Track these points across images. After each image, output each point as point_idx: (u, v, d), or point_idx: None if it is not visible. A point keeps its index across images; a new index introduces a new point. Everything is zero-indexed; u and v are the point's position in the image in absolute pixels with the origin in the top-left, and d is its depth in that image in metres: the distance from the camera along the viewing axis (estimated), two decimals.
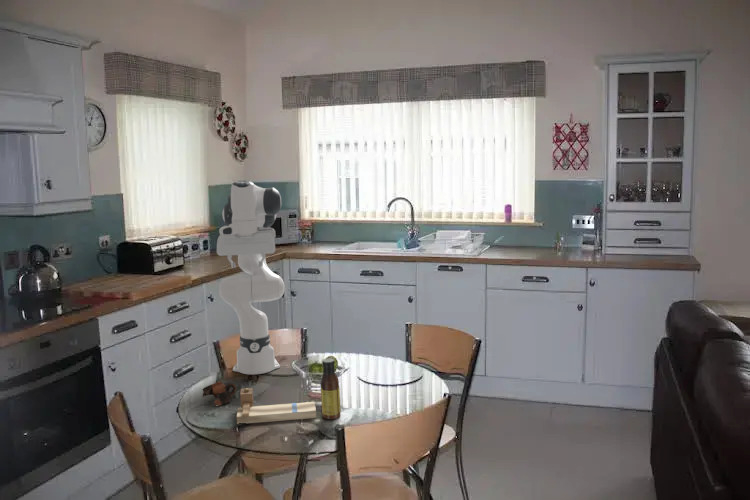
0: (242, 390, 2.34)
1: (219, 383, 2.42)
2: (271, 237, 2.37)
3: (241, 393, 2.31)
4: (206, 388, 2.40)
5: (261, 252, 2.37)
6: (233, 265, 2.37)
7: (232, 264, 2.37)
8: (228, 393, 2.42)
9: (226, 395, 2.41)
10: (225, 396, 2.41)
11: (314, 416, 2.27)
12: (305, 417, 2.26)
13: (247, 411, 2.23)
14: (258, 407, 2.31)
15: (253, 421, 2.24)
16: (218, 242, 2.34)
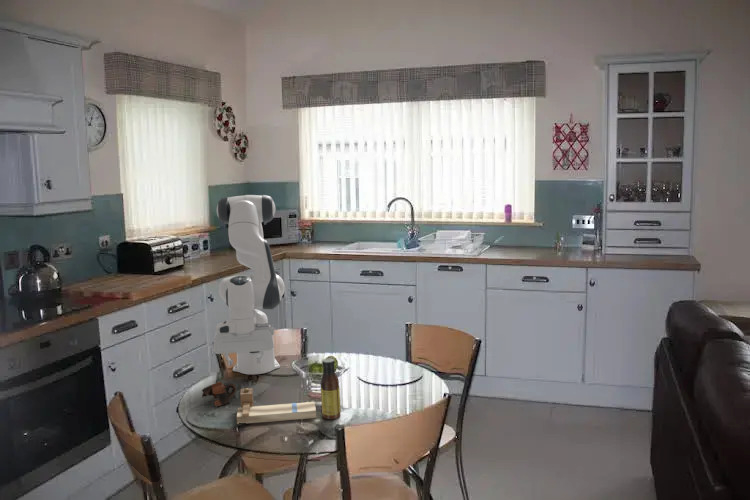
0: (242, 390, 2.34)
1: (219, 384, 2.42)
2: (269, 334, 2.30)
3: (241, 393, 2.31)
4: (205, 388, 2.40)
5: (259, 349, 2.30)
6: (230, 363, 2.30)
7: (229, 362, 2.30)
8: (228, 394, 2.42)
9: (226, 396, 2.41)
10: (224, 397, 2.40)
11: (314, 416, 2.27)
12: (305, 417, 2.26)
13: (247, 411, 2.23)
14: (258, 407, 2.31)
15: (253, 421, 2.24)
16: (215, 341, 2.27)
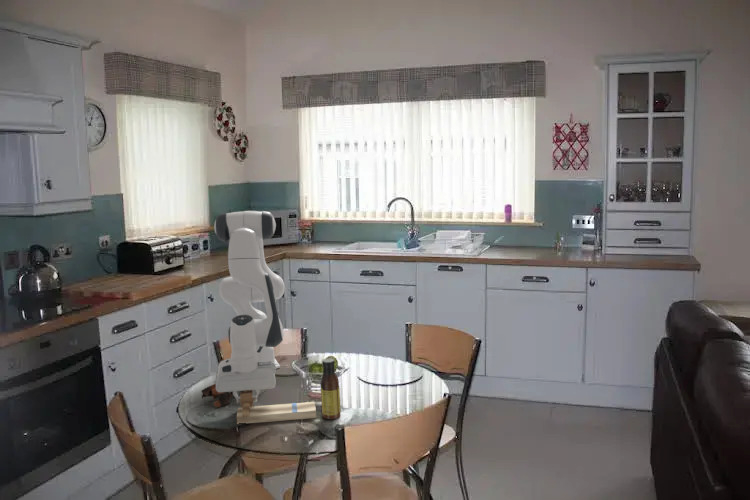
0: None
1: None
2: (271, 373, 2.32)
3: (241, 393, 2.31)
4: (205, 389, 2.39)
5: (261, 388, 2.32)
6: (238, 400, 2.33)
7: (237, 399, 2.32)
8: (227, 394, 2.41)
9: (225, 396, 2.40)
10: (224, 398, 2.39)
11: (314, 416, 2.27)
12: (305, 417, 2.26)
13: (247, 411, 2.23)
14: (258, 407, 2.31)
15: (253, 421, 2.24)
16: (217, 380, 2.29)
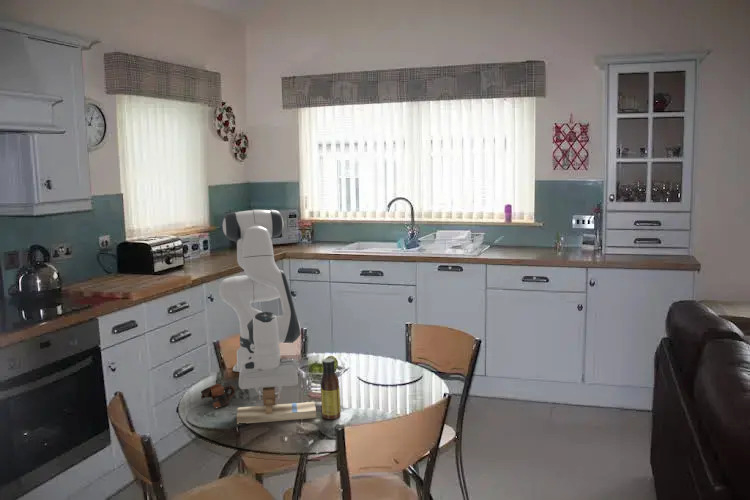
0: None
1: (218, 385, 2.40)
2: (294, 369, 2.33)
3: (264, 390, 2.32)
4: (204, 390, 2.38)
5: (284, 385, 2.33)
6: (261, 397, 2.34)
7: (260, 396, 2.33)
8: (227, 395, 2.41)
9: (225, 397, 2.39)
10: (224, 398, 2.39)
11: (314, 416, 2.27)
12: (305, 417, 2.26)
13: (270, 408, 2.24)
14: (258, 407, 2.31)
15: (253, 421, 2.24)
16: (240, 376, 2.30)
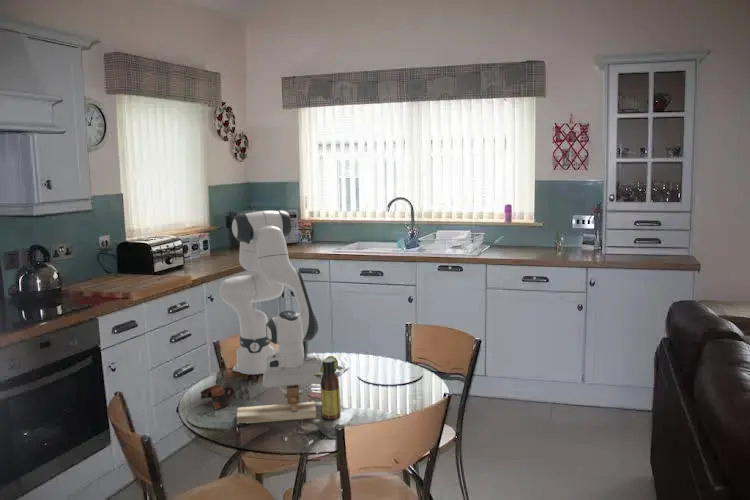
0: None
1: (217, 386, 2.40)
2: (318, 368, 2.34)
3: (288, 388, 2.34)
4: (204, 390, 2.38)
5: (307, 383, 2.34)
6: (285, 395, 2.35)
7: (284, 394, 2.35)
8: (227, 396, 2.40)
9: (225, 398, 2.39)
10: (224, 399, 2.38)
11: (314, 416, 2.27)
12: (305, 417, 2.26)
13: (295, 406, 2.25)
14: (258, 407, 2.31)
15: (253, 421, 2.24)
16: (265, 375, 2.31)
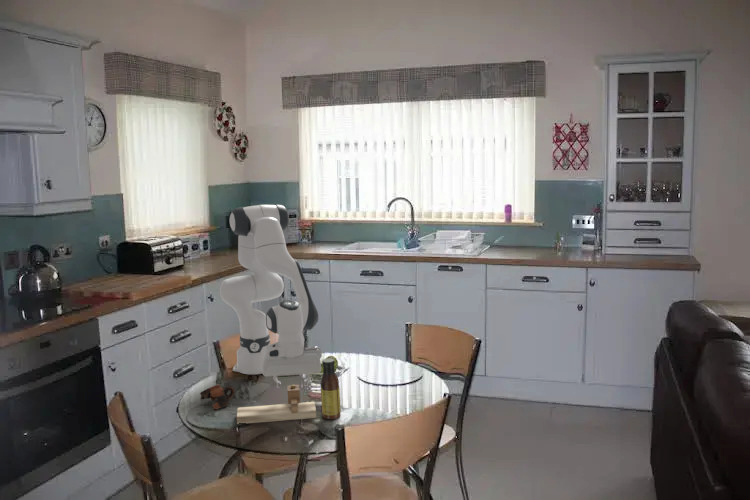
0: (289, 386, 2.36)
1: (217, 386, 2.39)
2: (317, 357, 2.34)
3: (288, 389, 2.34)
4: (204, 391, 2.37)
5: (307, 372, 2.34)
6: (279, 385, 2.34)
7: (278, 384, 2.34)
8: (226, 396, 2.39)
9: (224, 398, 2.38)
10: (223, 400, 2.38)
11: (314, 416, 2.27)
12: (305, 417, 2.26)
13: (296, 407, 2.26)
14: (258, 407, 2.31)
15: (253, 421, 2.24)
16: (265, 364, 2.31)
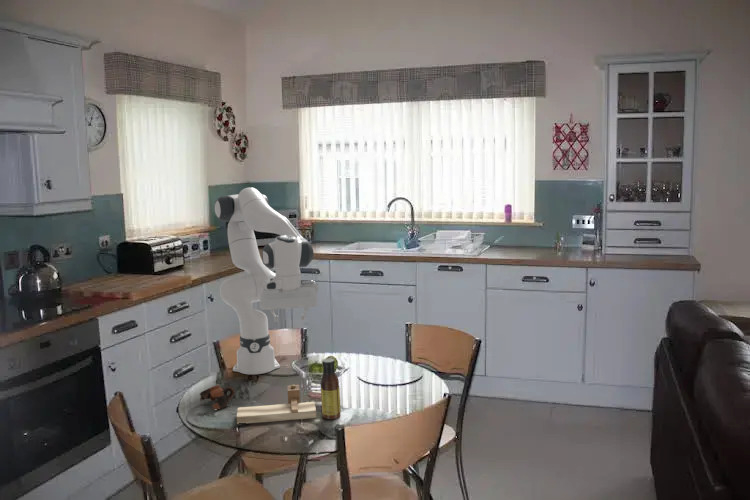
0: (289, 386, 2.36)
1: (217, 387, 2.39)
2: (314, 291, 2.38)
3: (288, 389, 2.34)
4: (203, 392, 2.37)
5: (304, 306, 2.38)
6: (276, 319, 2.38)
7: (275, 318, 2.38)
8: (226, 397, 2.39)
9: (224, 399, 2.38)
10: (223, 400, 2.37)
11: (314, 416, 2.27)
12: (305, 417, 2.26)
13: (296, 407, 2.26)
14: (258, 407, 2.31)
15: (253, 421, 2.24)
16: (262, 297, 2.35)
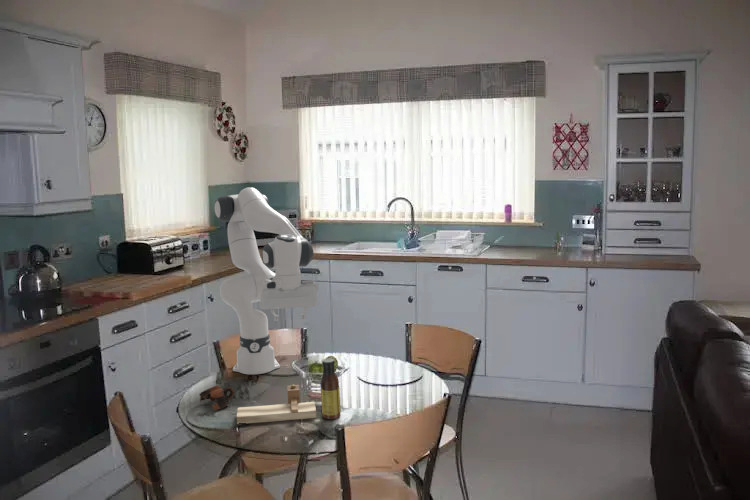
0: (289, 386, 2.36)
1: (217, 387, 2.38)
2: (314, 290, 2.38)
3: (288, 389, 2.34)
4: (203, 392, 2.36)
5: (304, 305, 2.38)
6: (276, 318, 2.38)
7: (275, 317, 2.38)
8: (226, 397, 2.39)
9: (224, 399, 2.37)
10: (223, 400, 2.37)
11: (314, 416, 2.27)
12: (305, 417, 2.26)
13: (296, 407, 2.26)
14: (258, 407, 2.31)
15: (253, 421, 2.24)
16: (262, 296, 2.35)
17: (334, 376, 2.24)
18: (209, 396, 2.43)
